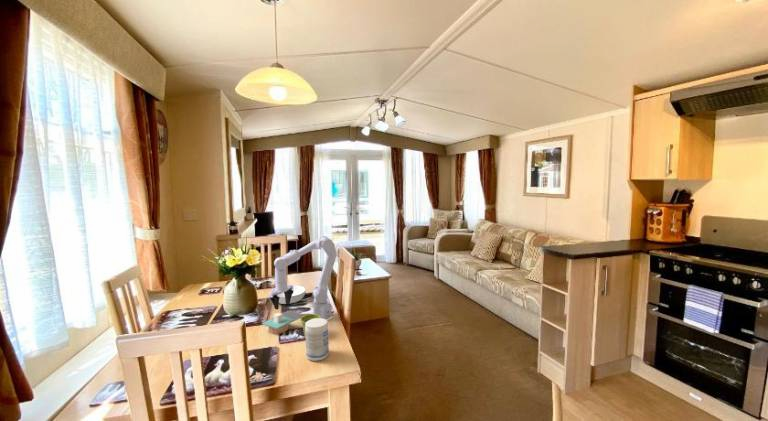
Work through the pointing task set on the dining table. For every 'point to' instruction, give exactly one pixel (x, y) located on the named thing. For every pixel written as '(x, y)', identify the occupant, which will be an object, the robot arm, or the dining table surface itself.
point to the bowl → (278, 330)
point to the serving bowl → (293, 295)
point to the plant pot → (307, 318)
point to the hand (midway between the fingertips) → (282, 306)
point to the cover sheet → (278, 325)
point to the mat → (292, 315)
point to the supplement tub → (316, 339)
